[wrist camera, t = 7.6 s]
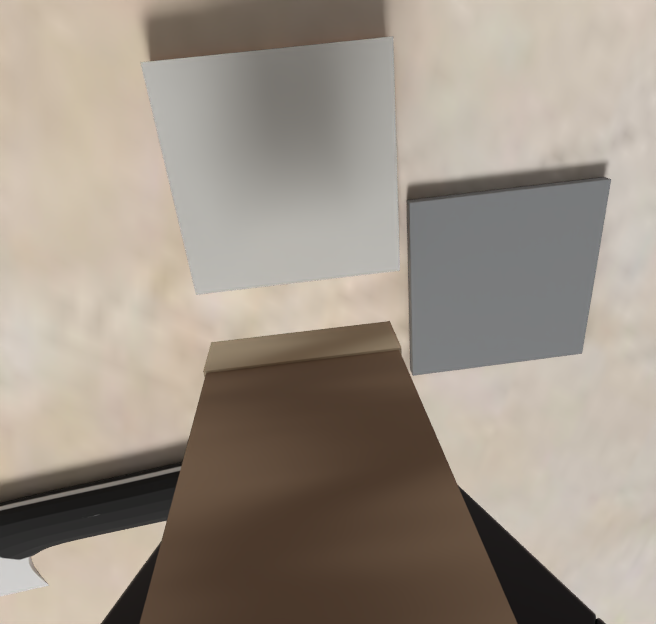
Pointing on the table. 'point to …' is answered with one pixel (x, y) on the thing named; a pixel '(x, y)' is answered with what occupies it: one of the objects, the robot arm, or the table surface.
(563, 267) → the pad
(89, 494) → the kitchen cleaver
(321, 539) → the wooden post stub
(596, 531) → the table surface
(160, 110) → the tile
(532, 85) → the table surface
